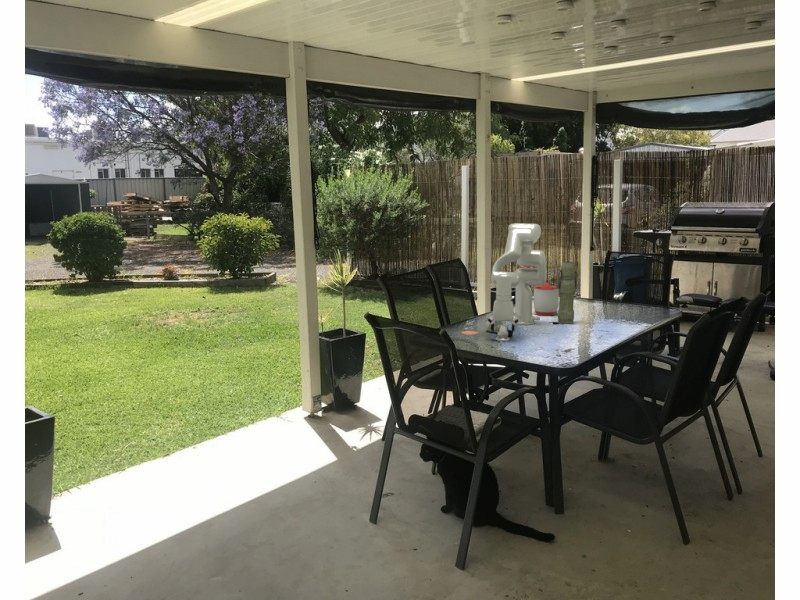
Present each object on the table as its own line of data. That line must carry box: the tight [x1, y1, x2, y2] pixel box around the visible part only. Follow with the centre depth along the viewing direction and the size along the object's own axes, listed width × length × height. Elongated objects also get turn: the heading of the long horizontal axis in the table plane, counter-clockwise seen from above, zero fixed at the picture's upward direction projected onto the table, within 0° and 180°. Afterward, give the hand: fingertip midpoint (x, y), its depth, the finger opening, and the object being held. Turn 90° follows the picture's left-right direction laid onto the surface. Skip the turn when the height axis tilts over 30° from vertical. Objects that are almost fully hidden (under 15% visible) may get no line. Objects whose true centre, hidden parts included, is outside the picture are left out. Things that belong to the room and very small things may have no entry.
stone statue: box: [556, 261, 579, 325], centre depth 364 cm, size 9×12×35 cm
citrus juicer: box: [532, 281, 560, 317], centre depth 392 cm, size 16×17×20 cm
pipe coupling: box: [495, 323, 511, 343], centre depth 325 cm, size 7×7×8 cm
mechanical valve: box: [485, 315, 514, 339], centre depth 339 cm, size 10×18×15 cm
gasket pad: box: [460, 330, 479, 336], centre depth 341 cm, size 9×9×1 cm
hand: (502, 331), depth 325 cm, fingers open, 9 cm apart
